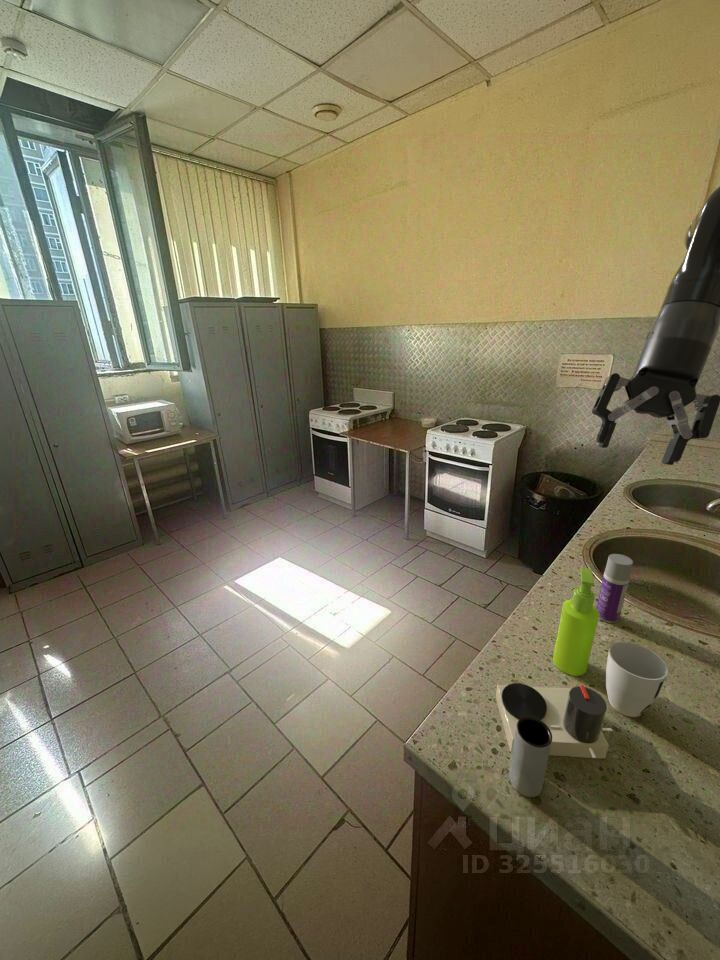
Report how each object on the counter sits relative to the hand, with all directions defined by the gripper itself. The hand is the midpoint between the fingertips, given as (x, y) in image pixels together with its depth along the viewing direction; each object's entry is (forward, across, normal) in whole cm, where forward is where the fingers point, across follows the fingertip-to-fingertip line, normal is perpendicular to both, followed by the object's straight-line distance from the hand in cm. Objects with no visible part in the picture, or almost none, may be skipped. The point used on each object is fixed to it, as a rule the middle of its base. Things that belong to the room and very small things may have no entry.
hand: (634, 455), depth 57 cm
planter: (+50, 0, -7) cm, 50 cm away
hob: (+46, +4, +1) cm, 46 cm away
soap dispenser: (+40, +8, +17) cm, 45 cm away
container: (+33, +17, +33) cm, 50 cm away
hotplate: (+44, -1, +2) cm, 44 cm away
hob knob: (+42, +7, 0) cm, 43 cm away
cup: (+41, +16, +10) cm, 45 cm away
